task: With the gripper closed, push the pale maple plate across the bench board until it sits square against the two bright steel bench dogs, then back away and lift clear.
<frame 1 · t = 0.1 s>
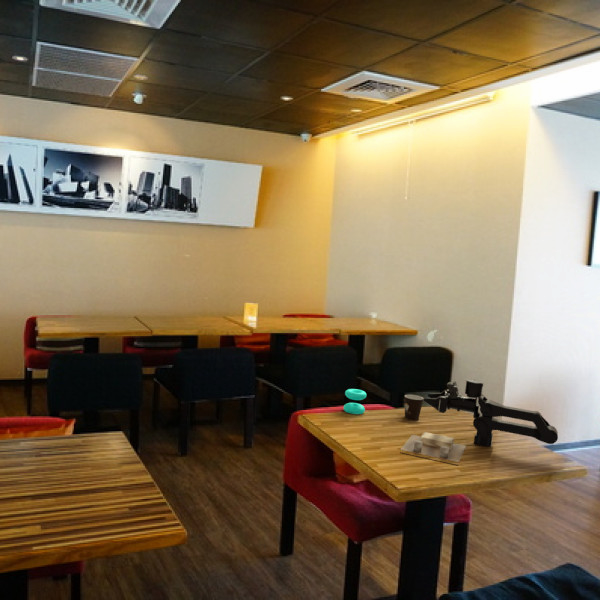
hand: (425, 397, 263), 17 cm above the table, tool horizontal, fingers open, 9 cm apart
bench board: (433, 451, 245), on the table
coffee mug: (411, 417, 291), on the table
maple plate: (436, 443, 250), point 1 cm above the table, touching bench board
donuts: (353, 412, 291), on the table
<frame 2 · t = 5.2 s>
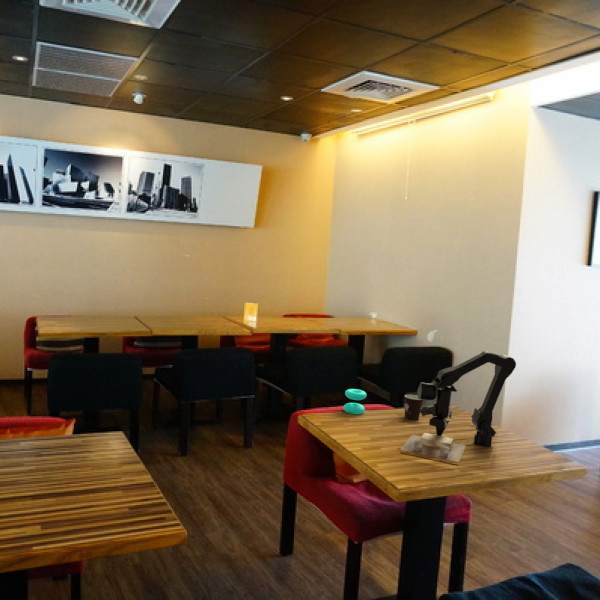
hand: (438, 438, 254), 3 cm above the table, tool pointing down, fingers closed
maple plate: (436, 444, 249), point 2 cm above the table, touching bench board, gripper
everything else where it was.
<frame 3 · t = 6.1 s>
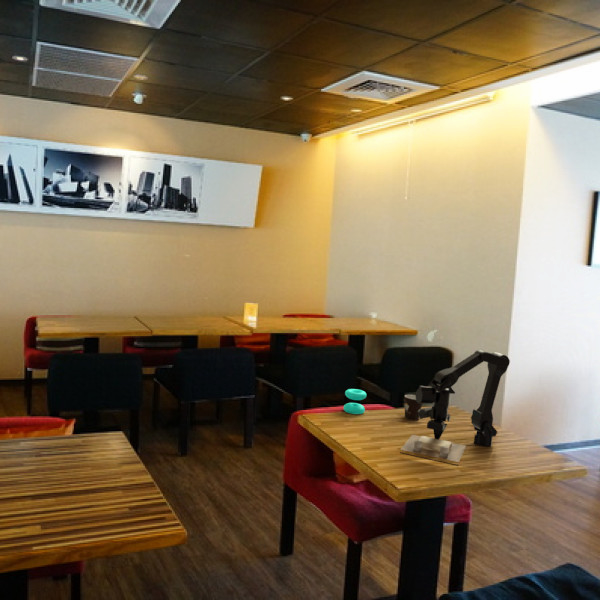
hand: (436, 441, 249), 3 cm above the table, tool pointing down, fingers closed
maple plate: (434, 447, 245), point 2 cm above the table, touching bench board, gripper
everything else where it was.
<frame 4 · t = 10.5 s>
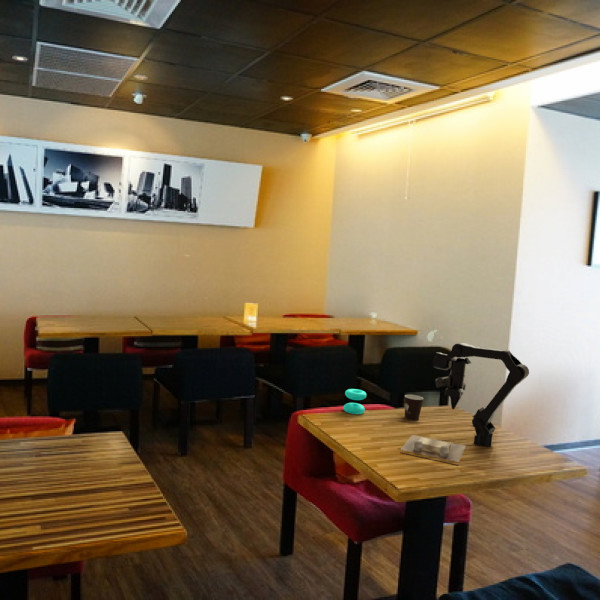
hand: (453, 408, 262), 13 cm above the table, tool pointing down, fingers closed
maple plate: (433, 449, 243), point 1 cm above the table, touching bench board
everything else where it was.
at the end: maple plate 0.1 cm from the target spot on the bench board, point 1.5 cm above the bench board's base; maple plate tilted 0°; maple plate moved 8.0 cm from its start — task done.
